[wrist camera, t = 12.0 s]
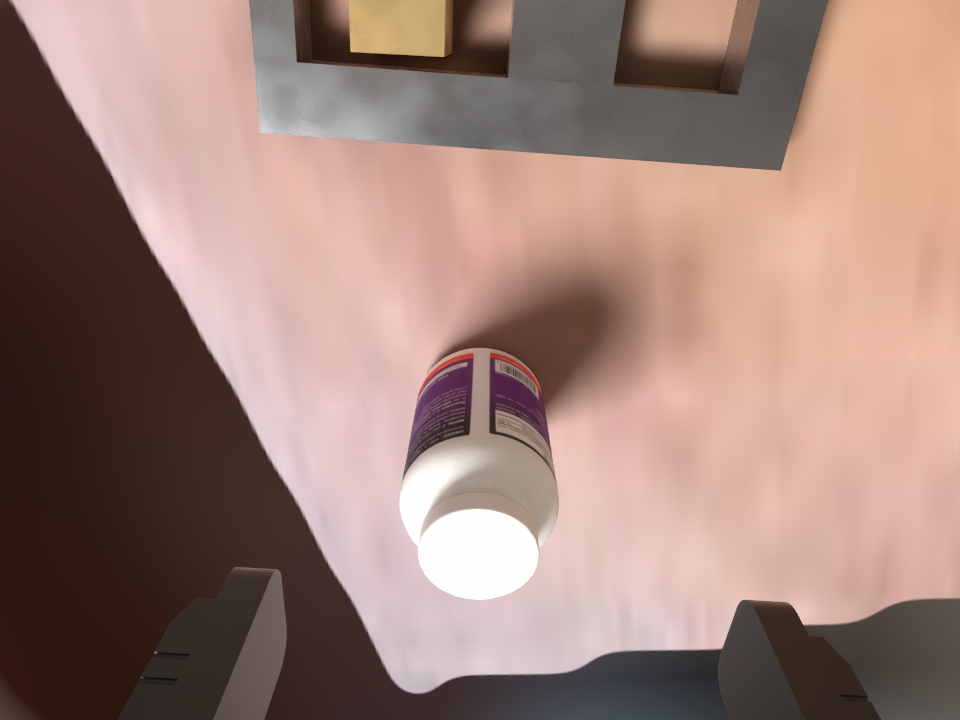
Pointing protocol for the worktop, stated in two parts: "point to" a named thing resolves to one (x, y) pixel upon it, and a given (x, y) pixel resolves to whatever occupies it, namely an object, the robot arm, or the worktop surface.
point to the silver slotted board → (549, 89)
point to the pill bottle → (479, 474)
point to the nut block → (401, 27)
